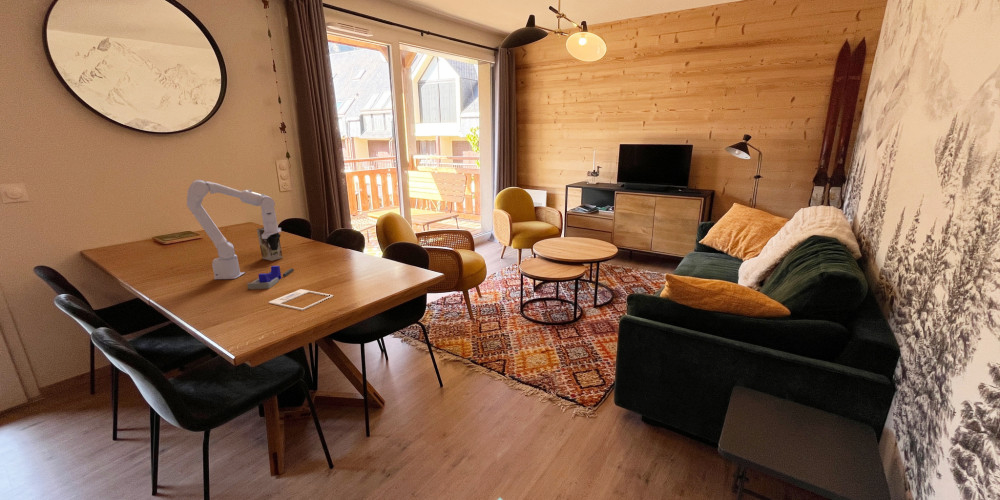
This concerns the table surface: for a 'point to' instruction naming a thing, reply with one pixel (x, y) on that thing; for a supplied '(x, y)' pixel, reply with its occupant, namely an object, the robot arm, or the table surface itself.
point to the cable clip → (270, 274)
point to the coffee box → (268, 248)
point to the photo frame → (294, 295)
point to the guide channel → (288, 272)
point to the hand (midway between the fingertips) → (274, 249)
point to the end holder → (262, 284)
